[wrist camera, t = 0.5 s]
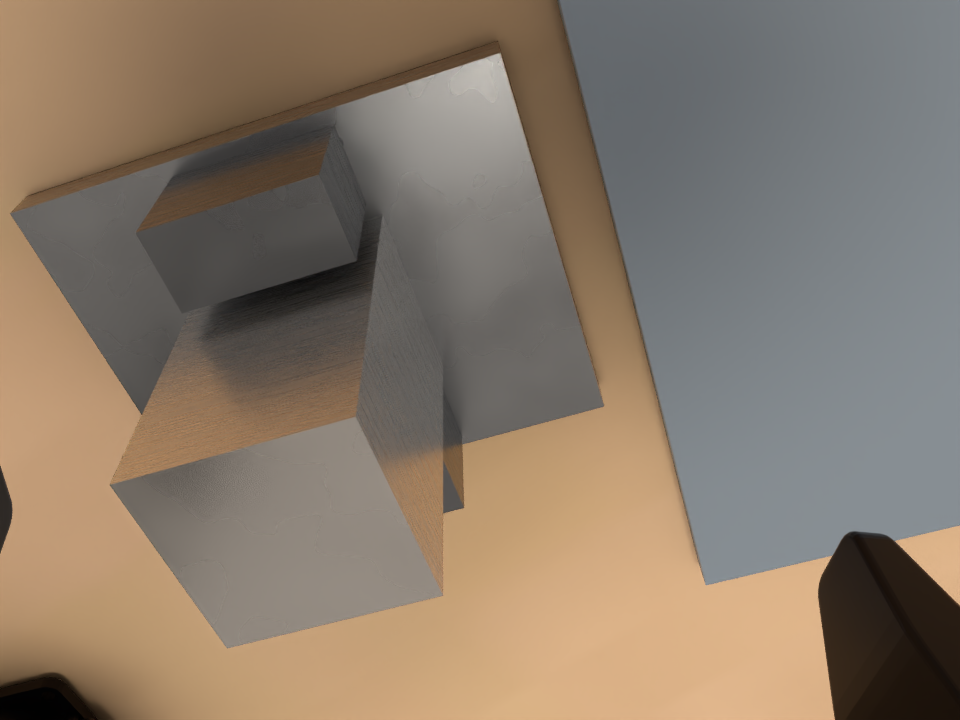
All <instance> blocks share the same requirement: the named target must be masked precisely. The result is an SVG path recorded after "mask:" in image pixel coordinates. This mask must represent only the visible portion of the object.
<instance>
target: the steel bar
mask: <svg viewBox="0 0 960 720" xmlns="http://www.w3.org/2000/svg"><path fill="white" fill-rule="evenodd" d="M110 486H111V487H112V489H113V490H114V492H115V493H116V494H117V496H118V497H119V499H120V500H121V501H122V503H123V504H124V505H125V507H126V508H127V510H128V511H129V512H130V514H131V515H132V517H133V518H134V519H135V521H136V522H137V524H138V525H139V526H140V528H141V529H142V531H143V532H144V533H145V535H146V536H147V537H148V539H149V540H150V542H151V543H152V544H153V546H154V547H155V549H156V550H157V551H158V553H159V554H160V556H161V557H162V558H163V560H164V561H165V563H166V564H167V565H168V567H169V568H170V570H171V571H172V572H173V574H174V575H175V576H176V578H177V579H178V581H179V582H180V583H181V585H182V586H183V588H184V589H185V590H186V592H187V593H188V595H189V596H190V597H191V599H192V600H193V602H194V603H195V604H196V606H197V607H198V608H199V610H200V611H201V613H202V614H203V615H204V617H205V618H206V620H207V621H208V622H209V624H210V625H211V627H212V628H213V629H214V631H215V632H216V634H217V635H218V636H219V638H220V639H221V640H222V642H223V643H224V645H225V646H226V647H227V648H231V647H235V646H239V645H243V644H247V643H251V642H255V641H259V640H264V639H268V638H272V637H276V636H280V635H284V634H288V633H292V632H296V631H300V630H304V629H309V628H313V627H317V626H321V625H325V624H329V623H333V622H337V621H341V620H345V619H349V618H353V617H358V616H362V615H366V614H370V613H374V612H378V611H382V610H386V609H390V608H394V607H398V606H403V605H407V604H411V603H415V602H419V601H423V600H427V599H431V598H435V597H439V596H443V363H442V360H441V358H440V355H439V353H438V350H437V348H436V345H435V343H434V341H433V338H432V336H431V333H430V331H429V328H428V326H427V323H426V321H425V318H424V316H423V313H422V311H421V308H420V306H419V304H418V301H417V299H416V296H415V294H414V291H413V289H412V286H411V284H410V281H409V279H408V276H407V274H406V271H405V269H404V267H403V264H402V262H401V259H400V257H399V254H398V252H397V249H396V247H395V244H394V242H393V239H392V237H391V234H390V232H389V229H388V227H387V225H386V222H385V220H384V217H383V215H380V216H377V217H373V218H370V219H367V220H364V221H363V226H362V232H361V238H360V243H359V249H358V255H357V261H355V262H352V263H348V264H345V265H342V266H338V267H335V268H332V269H328V270H325V271H322V272H318V273H315V274H312V275H309V276H305V277H302V278H299V279H295V280H292V281H289V282H285V283H282V284H279V285H275V286H272V287H269V288H265V289H262V290H259V291H256V292H252V293H249V294H246V295H242V296H239V297H236V298H232V299H229V300H226V301H222V302H219V303H216V304H212V305H209V306H206V307H203V308H199V309H196V310H193V311H190V312H189V314H188V316H187V318H186V321H185V323H184V325H183V327H182V329H181V331H180V334H179V336H178V338H177V340H176V342H175V344H174V347H173V349H172V351H171V353H170V355H169V357H168V360H167V362H166V364H165V366H164V368H163V370H162V373H161V375H160V377H159V379H158V381H157V383H156V386H155V388H154V390H153V392H152V394H151V396H150V399H149V401H148V403H147V405H146V407H145V409H144V412H143V414H142V416H141V418H140V420H139V422H138V425H137V427H136V429H135V431H134V433H133V435H132V438H131V440H130V442H129V444H128V446H127V448H126V450H125V453H124V455H123V457H122V459H121V461H120V463H119V466H118V468H117V470H116V472H115V474H114V476H113V479H112V481H111V483H110Z"/></svg>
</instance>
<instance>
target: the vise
mask: <svg viewBox="0 0 960 720" xmlns="http://www.w3.org/2000/svg"><path fill="white" fill-rule="evenodd" d="M10 214H11V216H12V217H13V219H14V220H15V222H16V223H17V225H18V226H19V228H20V229H21V231H22V232H23V234H24V235H25V237H26V239H27V240H28V242H29V243H30V245H31V246H32V248H33V249H34V251H35V252H36V254H37V255H38V257H39V258H40V260H41V261H42V263H43V265H44V266H45V268H46V269H47V271H48V272H49V274H50V275H51V277H52V278H53V280H54V281H55V283H56V284H57V286H58V287H59V289H60V290H61V292H62V294H63V295H64V297H65V298H66V300H67V301H68V303H69V304H70V306H71V307H72V309H73V310H74V312H75V313H76V315H77V316H78V318H79V320H80V321H81V323H82V324H83V326H84V327H85V329H86V330H87V332H88V333H89V335H90V336H91V338H92V339H93V341H94V342H95V344H96V345H97V347H98V349H99V350H100V352H101V353H102V355H103V356H104V358H105V359H106V361H107V362H108V364H109V365H110V367H111V368H112V370H113V371H114V373H115V375H116V376H117V378H118V379H119V381H120V382H121V384H122V385H123V387H124V388H125V390H126V391H127V393H128V394H129V396H130V397H131V399H132V400H133V402H134V404H135V405H136V407H137V408H138V410H139V411H140V413H141V414H143V412H144V409H145V407H146V405H147V403H148V401H149V399H150V396H151V394H152V392H153V390H154V388H155V386H156V383H157V381H158V379H159V377H160V375H161V373H162V370H163V368H164V366H165V364H166V362H167V360H168V357H169V355H170V353H171V351H172V349H173V347H174V344H175V342H176V340H177V338H178V336H179V334H180V331H181V329H182V327H183V325H184V323H185V321H186V318H187V316H188V314H189V312H190V311H193V310H196V309H199V308H203V307H206V306H209V305H212V304H216V303H219V302H222V301H226V300H229V299H232V298H236V297H239V296H242V295H246V294H249V293H252V292H256V291H259V290H262V289H265V288H269V287H272V286H275V285H279V284H282V283H285V282H289V281H292V280H295V279H299V278H302V277H305V276H309V275H312V274H315V273H318V272H322V271H325V270H328V269H332V268H335V267H338V266H342V265H345V264H348V263H352V262H355V261H357V255H358V249H359V243H360V238H361V232H362V226H363V221H364V220H367V219H370V218H373V217H377V216H380V215H383V217H384V220H385V222H386V225H387V227H388V229H389V232H390V234H391V237H392V239H393V242H394V244H395V247H396V249H397V252H398V254H399V257H400V259H401V262H402V264H403V267H404V269H405V271H406V274H407V276H408V279H409V281H410V284H411V286H412V289H413V291H414V294H415V296H416V299H417V301H418V304H419V306H420V308H421V311H422V313H423V316H424V318H425V321H426V323H427V326H428V328H429V331H430V333H431V336H432V338H433V341H434V343H435V345H436V348H437V350H438V353H439V355H440V358H441V360H442V363H443V513H446V512H450V511H454V510H458V509H461V508H464V487H463V453H462V444H466V443H469V442H473V441H477V440H481V439H484V438H488V437H492V436H496V435H499V434H503V433H507V432H510V431H514V430H518V429H522V428H525V427H529V426H533V425H537V424H540V423H544V422H548V421H552V420H555V419H559V418H563V417H566V416H570V415H574V414H578V413H581V412H585V411H589V410H593V409H596V408H600V407H604V404H603V400H602V396H601V392H600V388H599V384H598V381H597V377H596V374H595V371H594V367H593V364H592V360H591V357H590V354H589V350H588V347H587V343H586V340H585V337H584V333H583V330H582V326H581V323H580V320H579V316H578V313H577V309H576V306H575V302H574V299H573V296H572V292H571V289H570V285H569V282H568V279H567V275H566V272H565V268H564V265H563V262H562V258H561V255H560V251H559V248H558V245H557V241H556V238H555V234H554V231H553V228H552V224H551V221H550V217H549V214H548V211H547V207H546V204H545V200H544V197H543V194H542V190H541V187H540V183H539V180H538V176H537V173H536V170H535V166H534V163H533V159H532V156H531V153H530V149H529V146H528V142H527V139H526V136H525V132H524V129H523V125H522V122H521V119H520V115H519V112H518V108H517V105H516V102H515V98H514V95H513V91H512V88H511V85H510V81H509V78H508V74H507V71H506V67H505V64H504V61H503V57H502V54H501V50H500V47H499V44H498V41H497V42H494V43H491V44H488V45H485V46H482V47H479V48H476V49H473V50H470V51H466V52H463V53H460V54H457V55H454V56H451V57H448V58H445V59H442V60H439V61H436V62H433V63H430V64H427V65H424V66H421V67H418V68H415V69H412V70H409V71H406V72H403V73H400V74H397V75H394V76H391V77H388V78H385V79H382V80H379V81H375V82H372V83H369V84H366V85H363V86H360V87H357V88H354V89H351V90H348V91H345V92H342V93H339V94H336V95H333V96H330V97H327V98H324V99H321V100H318V101H315V102H312V103H309V104H306V105H303V106H300V107H297V108H294V109H291V110H288V111H284V112H281V113H278V114H275V115H272V116H269V117H266V118H263V119H260V120H257V121H254V122H251V123H248V124H245V125H242V126H239V127H236V128H233V129H230V130H227V131H224V132H221V133H218V134H215V135H212V136H209V137H206V138H203V139H200V140H197V141H193V142H190V143H187V144H184V145H181V146H178V147H175V148H172V149H169V150H166V151H163V152H160V153H157V154H154V155H151V156H148V157H145V158H142V159H139V160H136V161H133V162H130V163H127V164H124V165H121V166H118V167H115V168H112V169H109V170H106V171H102V172H99V173H96V174H93V175H90V176H87V177H84V178H81V179H78V180H75V181H72V182H69V183H66V184H63V185H60V186H57V187H54V188H51V189H48V190H45V191H42V192H39V193H36V194H33V195H30V196H27V197H26V198H25V199H24V200H23V201H22V202H21V203H20V204H19V205H18V206H17V207H16V208H15V209H14V210H13V211H12V212H11V213H10Z"/></svg>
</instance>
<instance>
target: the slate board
mask: <svg viewBox="0 0 960 720" xmlns="http://www.w3.org/2000/svg"><path fill="white" fill-rule="evenodd" d="M557 2H558V6H559V10H560V14H561V18H562V22H563V26H564V30H565V34H566V38H567V42H568V46H569V50H570V54H571V58H572V62H573V65H574V69H575V73H576V77H577V81H578V85H579V89H580V93H581V97H582V101H583V105H584V109H585V113H586V117H587V121H588V125H589V129H590V133H591V137H592V141H593V145H594V149H595V153H596V157H597V161H598V165H599V169H600V173H601V177H602V181H603V185H604V189H605V193H606V197H607V201H608V205H609V208H610V212H611V216H612V220H613V224H614V228H615V232H616V236H617V240H618V244H619V248H620V252H621V256H622V260H623V264H624V268H625V272H626V276H627V280H628V284H629V288H630V292H631V296H632V300H633V304H634V308H635V312H636V316H637V320H638V324H639V328H640V332H641V336H642V340H643V344H644V348H645V351H646V355H647V359H648V363H649V367H650V371H651V375H652V379H653V383H654V387H655V391H656V395H657V399H658V403H659V407H660V411H661V415H662V419H663V423H664V427H665V431H666V435H667V439H668V443H669V447H670V451H671V455H672V459H673V463H674V467H675V471H676V475H677V479H678V483H679V487H680V490H681V494H682V498H683V502H684V506H685V510H686V514H687V518H688V522H689V526H690V530H691V534H692V538H693V542H694V546H695V550H696V554H697V558H698V562H699V565H700V568H701V571H702V575H703V578H704V581H705V584H706V585H709V584H714V583H718V582H722V581H726V580H731V579H735V578H739V577H743V576H747V575H752V574H756V573H760V572H764V571H769V570H773V569H777V568H781V567H786V566H790V565H794V564H798V563H802V562H807V561H811V560H815V559H819V558H824V557H828V556H832V555H833V554H834V552H835V550H836V548H837V547H838V545H839V543H840V541H841V539H842V538H843V537H844V535H846V534H847V533H849V532H851V531H859V532H870V533H880V534H884V535H887V536H889V537H890V538H892V539H893V540H894V541H896V540H900V539H904V538H908V537H912V536H917V535H921V534H925V533H929V532H934V531H938V530H942V529H946V528H951V527H955V526H959V525H960V0H557Z"/></svg>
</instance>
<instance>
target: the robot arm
mask: <svg viewBox="0 0 960 720" xmlns="http://www.w3.org/2000/svg"><path fill="white" fill-rule="evenodd" d="M11 519H12V502H11V498H10V495H9V492H8V488H7V485H6V482H5V479H4V476H3V473H2V469H1V466H0V553H1V550H2V547H3V544H4V541H5V539H6V536H7V533H8V530H9V527H10V524H11ZM818 599H819V607H820V614H821V622H822V629H823V637H824V644H825V652H826V659H827V666H828V674H829V681H830V689H831V696H832V703H833V711H834V717H835V720H960V605H959V604H958V603H956V602H955V601H954V600H953V599H952V598H951V597H950V596H949V595H948V594H947V593H946V592H945V591H944V590H943V589H942V588H941V587H940V586H939V585H938V584H937V583H936V582H935V581H934V580H933V579H932V578H931V577H930V576H929V575H928V574H927V573H926V572H925V571H924V570H923V569H922V568H921V567H920V566H919V565H918V564H917V563H916V562H915V561H914V560H913V559H912V558H911V557H910V556H909V555H908V554H907V553H906V552H905V551H904V550H903V549H902V548H901V547H900V546H899V545H898V544H897V543H896V542H895V541H894V540H893V539H892V538H890V537H889V536H887V535H884V534H880V533H870V532H859V531H851V532H849V533H847V534H846V535H844V537H843V538H842V539H841V541H840V543H839V545H838V547H837V548H836V550H835V552H834V554H833V556H832V558H831V559H830V561H829V563H828V565H827V567H826V569H825V570H824V572H823V574H822V576H821V579H820V582H819V589H818ZM0 720H98V719H97V718H96V717H95V716H94V715H93V714H92V712H91V711H90V710H89V709H88V708H87V707H86V706H85V705H84V704H83V702H82V701H81V700H80V699H79V698H78V697H77V696H76V695H75V694H74V692H73V691H72V690H71V689H70V688H69V687H68V686H67V685H66V684H65V683H64V682H63V681H62V680H59V679H57V678H52V677H48V678H42V679H38V680H34V681H30V682H26V683H22V684H18V685H13V686H9V687H5V688H1V689H0Z"/></svg>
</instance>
